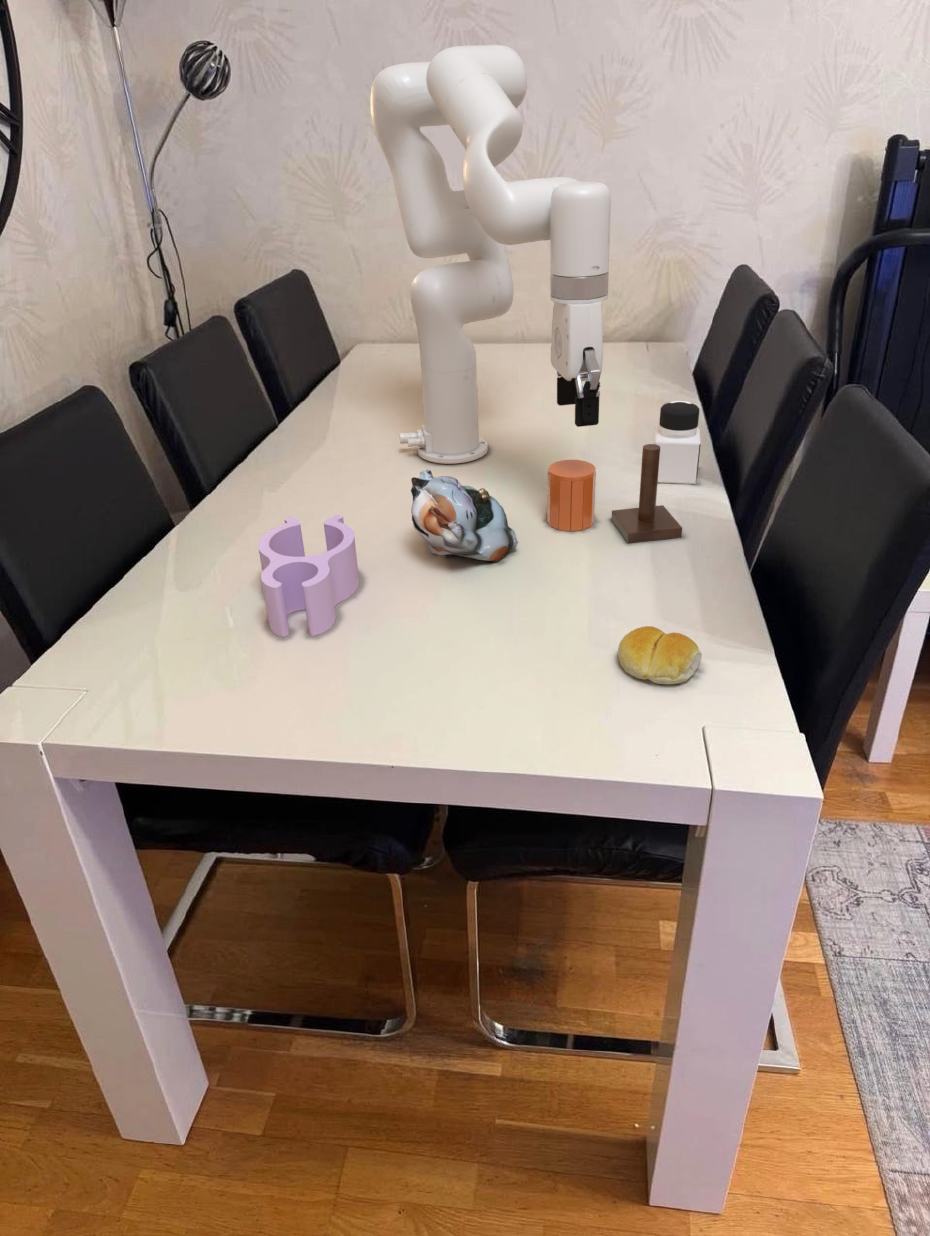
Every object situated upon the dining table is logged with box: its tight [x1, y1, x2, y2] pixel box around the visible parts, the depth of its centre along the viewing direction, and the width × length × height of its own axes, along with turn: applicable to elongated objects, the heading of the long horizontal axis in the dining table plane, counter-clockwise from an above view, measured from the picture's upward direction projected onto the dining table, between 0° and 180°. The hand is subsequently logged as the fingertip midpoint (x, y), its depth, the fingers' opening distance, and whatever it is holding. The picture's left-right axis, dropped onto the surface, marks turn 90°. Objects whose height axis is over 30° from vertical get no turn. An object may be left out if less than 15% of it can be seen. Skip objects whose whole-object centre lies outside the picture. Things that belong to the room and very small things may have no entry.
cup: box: [546, 459, 597, 532], centre depth 133 cm, size 7×7×8 cm
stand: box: [610, 443, 683, 544], centre depth 128 cm, size 8×8×13 cm
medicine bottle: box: [653, 400, 702, 485], centre depth 145 cm, size 7×7×12 cm
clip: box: [257, 514, 360, 638], centre depth 117 cm, size 20×12×7 cm, turn 0°
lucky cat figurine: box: [410, 469, 519, 563], centre depth 124 cm, size 15×12×14 cm
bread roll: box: [618, 625, 703, 685], centre depth 101 cm, size 8×9×4 cm
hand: (577, 414), depth 126 cm, fingers open, 9 cm apart
